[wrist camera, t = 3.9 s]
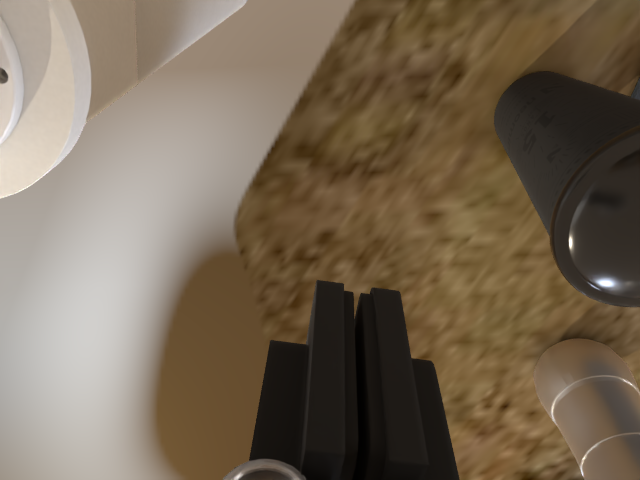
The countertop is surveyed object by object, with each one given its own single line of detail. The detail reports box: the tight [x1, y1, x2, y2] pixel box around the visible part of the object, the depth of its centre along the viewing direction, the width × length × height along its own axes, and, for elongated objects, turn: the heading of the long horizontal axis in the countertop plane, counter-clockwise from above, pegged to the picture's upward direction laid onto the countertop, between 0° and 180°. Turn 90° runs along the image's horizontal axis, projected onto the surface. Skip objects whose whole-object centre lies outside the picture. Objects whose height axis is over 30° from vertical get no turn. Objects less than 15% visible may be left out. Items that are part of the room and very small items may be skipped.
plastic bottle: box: [534, 338, 640, 480], centre depth 31 cm, size 6×7×20 cm
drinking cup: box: [494, 71, 640, 307], centre depth 22 cm, size 8×8×20 cm
